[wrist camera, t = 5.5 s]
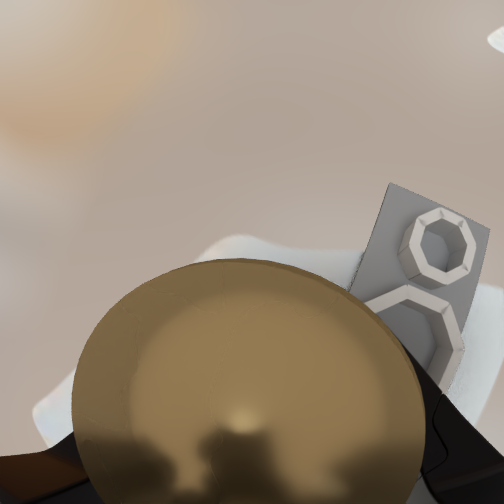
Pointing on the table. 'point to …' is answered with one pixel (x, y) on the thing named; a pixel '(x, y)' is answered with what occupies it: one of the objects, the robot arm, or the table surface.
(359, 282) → the manifold plate
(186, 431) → the gold metal cylinder
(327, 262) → the table surface
